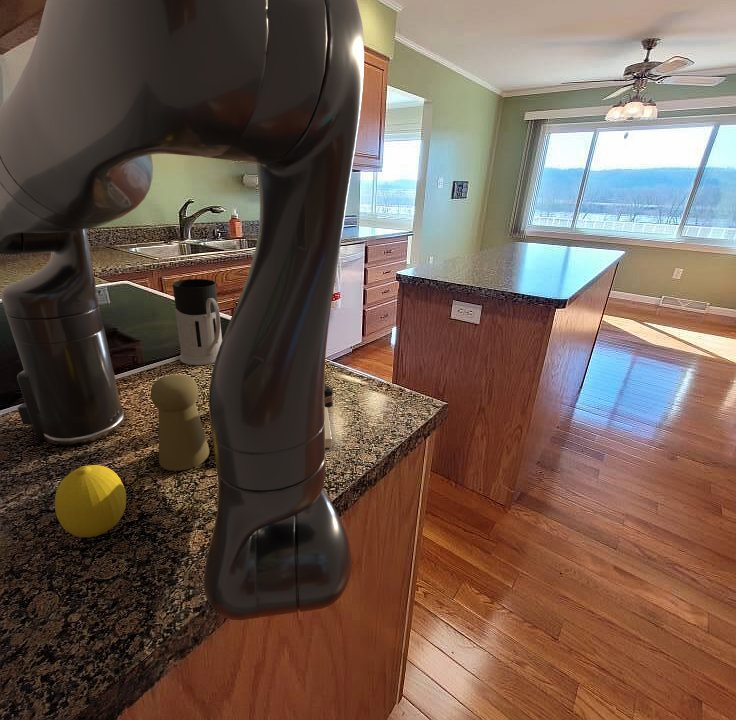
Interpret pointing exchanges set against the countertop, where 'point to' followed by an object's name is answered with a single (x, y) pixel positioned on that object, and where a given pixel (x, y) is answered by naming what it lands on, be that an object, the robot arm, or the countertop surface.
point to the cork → (179, 423)
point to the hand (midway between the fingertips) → (287, 370)
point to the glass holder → (197, 320)
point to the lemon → (90, 501)
